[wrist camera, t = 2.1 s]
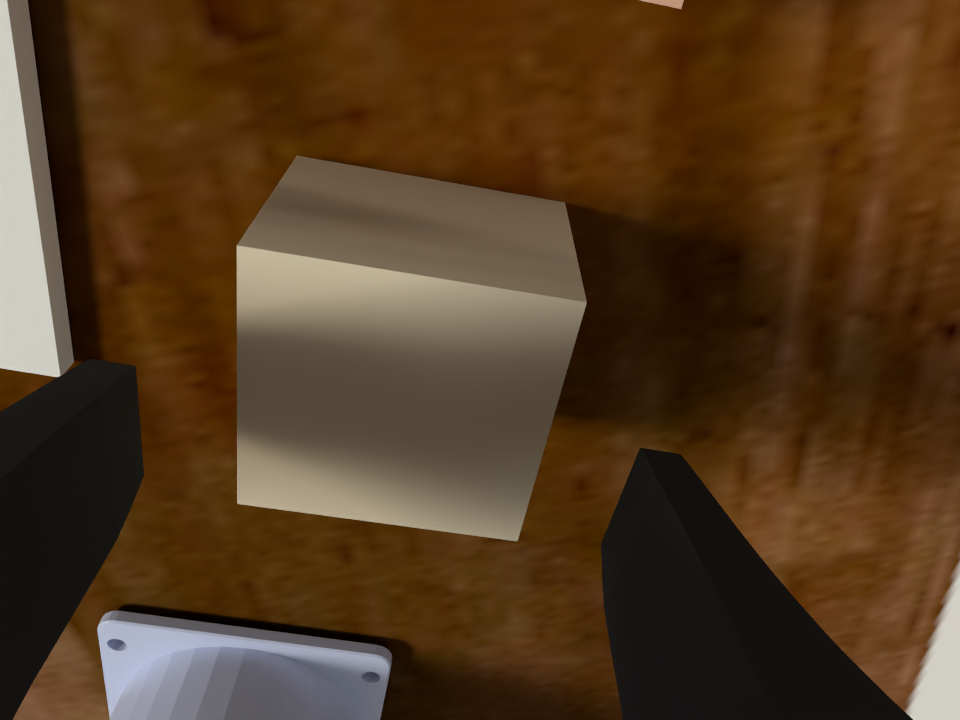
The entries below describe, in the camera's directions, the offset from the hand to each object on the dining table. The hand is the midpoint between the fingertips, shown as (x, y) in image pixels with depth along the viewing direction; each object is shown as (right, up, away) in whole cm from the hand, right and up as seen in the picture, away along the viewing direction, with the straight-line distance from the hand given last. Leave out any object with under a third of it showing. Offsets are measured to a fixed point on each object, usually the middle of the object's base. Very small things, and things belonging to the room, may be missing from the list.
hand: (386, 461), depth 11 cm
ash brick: (0, +3, +4) cm, 5 cm away
